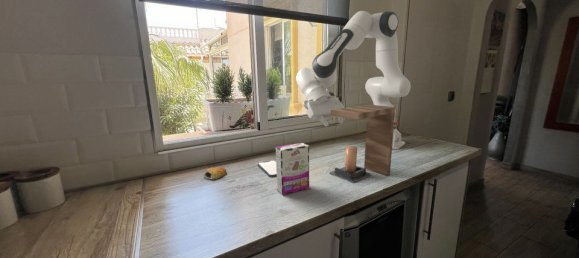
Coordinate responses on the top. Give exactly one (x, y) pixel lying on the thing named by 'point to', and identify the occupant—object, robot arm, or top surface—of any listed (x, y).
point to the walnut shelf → (374, 134)
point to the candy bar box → (292, 168)
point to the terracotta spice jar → (350, 159)
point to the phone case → (268, 168)
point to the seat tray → (350, 174)
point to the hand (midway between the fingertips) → (335, 123)
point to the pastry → (214, 173)
